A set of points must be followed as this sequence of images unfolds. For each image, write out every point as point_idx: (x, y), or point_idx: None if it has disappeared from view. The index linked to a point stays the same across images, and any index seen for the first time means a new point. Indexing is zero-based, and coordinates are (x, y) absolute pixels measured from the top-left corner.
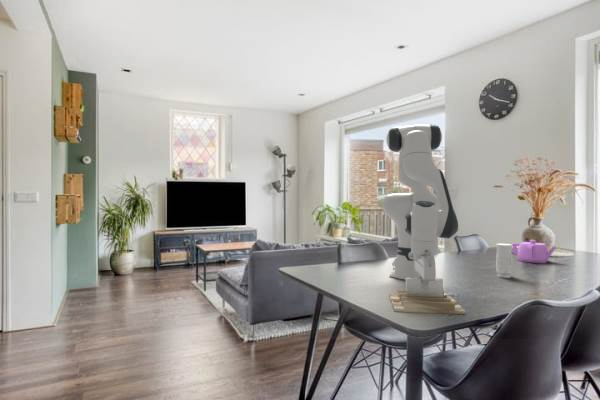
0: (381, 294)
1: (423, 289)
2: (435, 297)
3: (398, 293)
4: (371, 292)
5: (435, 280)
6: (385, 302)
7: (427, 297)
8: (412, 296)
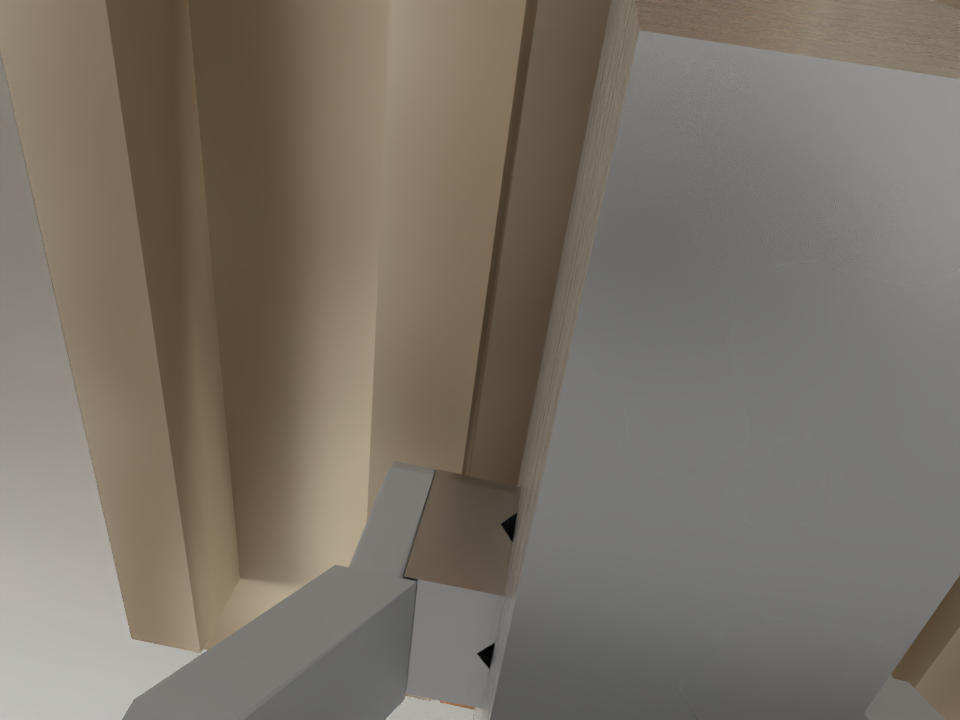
0: (76, 640)
1: None
2: (521, 83)
3: (222, 610)
4: (20, 696)
5: (907, 557)
6: (452, 707)
7: (493, 271)
8: None
